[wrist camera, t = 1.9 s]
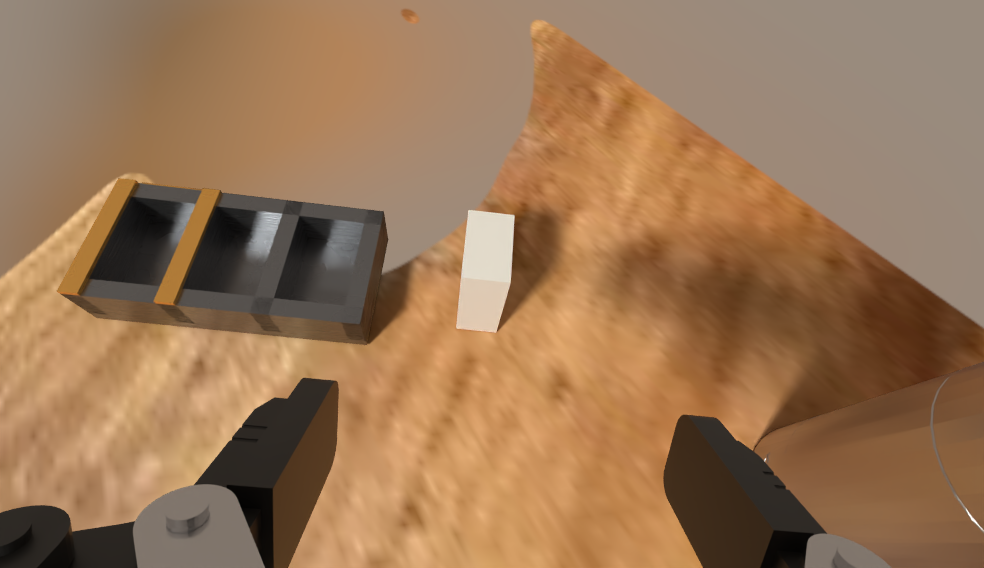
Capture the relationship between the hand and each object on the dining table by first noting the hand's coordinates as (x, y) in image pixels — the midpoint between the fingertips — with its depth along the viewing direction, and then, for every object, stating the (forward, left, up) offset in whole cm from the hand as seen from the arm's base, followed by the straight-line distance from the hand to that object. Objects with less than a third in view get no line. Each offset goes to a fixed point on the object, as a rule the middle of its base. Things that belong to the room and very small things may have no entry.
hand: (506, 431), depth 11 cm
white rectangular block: (0, -14, -22) cm, 26 cm away
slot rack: (+17, -14, -22) cm, 31 cm away
